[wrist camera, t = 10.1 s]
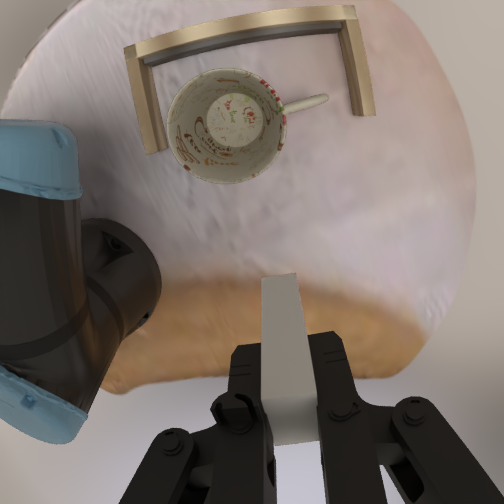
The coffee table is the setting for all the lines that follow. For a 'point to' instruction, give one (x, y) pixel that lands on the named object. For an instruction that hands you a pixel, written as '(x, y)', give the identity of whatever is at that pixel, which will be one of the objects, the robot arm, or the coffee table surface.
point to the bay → (241, 33)
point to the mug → (229, 125)
